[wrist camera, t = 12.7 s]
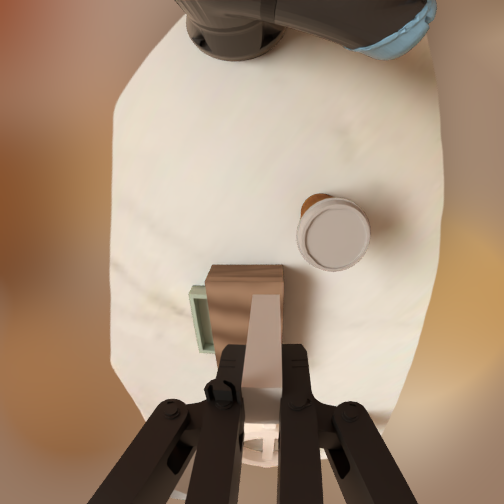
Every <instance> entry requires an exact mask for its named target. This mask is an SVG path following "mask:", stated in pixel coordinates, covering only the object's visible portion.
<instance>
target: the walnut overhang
mask: <svg viewBox="0 0 504 504" xmlns="http://www.w3.org/2000/svg"><path fill="white" fill-rule="evenodd" d="M205 287H206V295H207V302H208V309H209V316H210V323H211V330H212V336H213V342H214V349H215V355H216V361H217V367H219V363H220V358H221V354H222V351H223V349H224V348H225V347H226V346H227V345H228V344H238V345H246V344H247V336H248V328H249V320H250V312H251V304H252V295H280V316H281V344H282V328H283V294H284V278H283V265H212V266H211V269H210V271H209V273H208V276H207V278H206V280H205Z"/></svg>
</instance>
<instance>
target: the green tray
mask: <svg viewBox="0 0 504 504" xmlns="http://www.w3.org/2000/svg"><path fill="white" fill-rule="evenodd" d="M189 300H190V306H191V312H192V317H193V323H194V328H195V333H196V338H197V343H198V348H199V353H210V354H215V349H214V342H213V336H212V330H211V323H210V316H209V309H208V302H207V295H206V287H205V286H192V288H191V290H190V292H189Z"/></svg>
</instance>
